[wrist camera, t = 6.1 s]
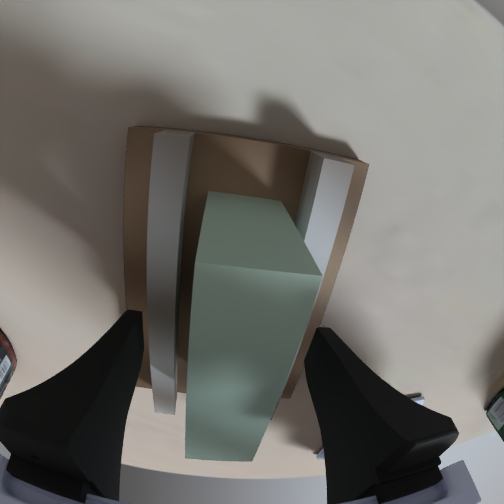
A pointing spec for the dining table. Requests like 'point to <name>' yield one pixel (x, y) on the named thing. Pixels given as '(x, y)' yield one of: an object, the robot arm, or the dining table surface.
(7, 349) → the supplement bottle
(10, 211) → the dining table surface
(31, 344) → the dining table surface
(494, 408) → the coffee jar
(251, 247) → the pale green block
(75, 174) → the dining table surface
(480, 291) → the dining table surface
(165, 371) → the brown shallow piece
